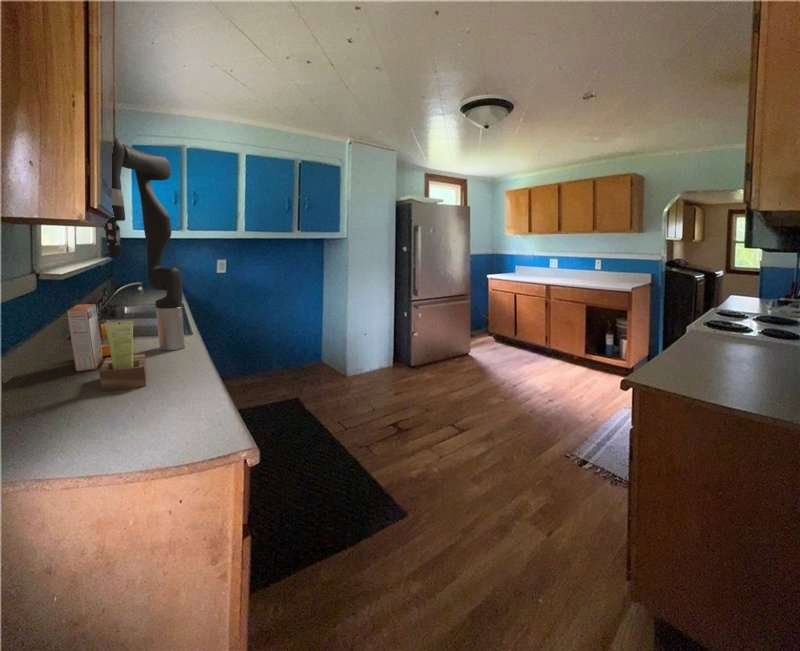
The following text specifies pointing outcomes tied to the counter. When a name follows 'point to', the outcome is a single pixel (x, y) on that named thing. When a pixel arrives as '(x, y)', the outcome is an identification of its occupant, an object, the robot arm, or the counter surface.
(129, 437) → the counter surface
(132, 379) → the wooden box
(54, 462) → the counter surface
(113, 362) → the tube
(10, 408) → the counter surface
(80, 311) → the cracker box
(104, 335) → the bracket
